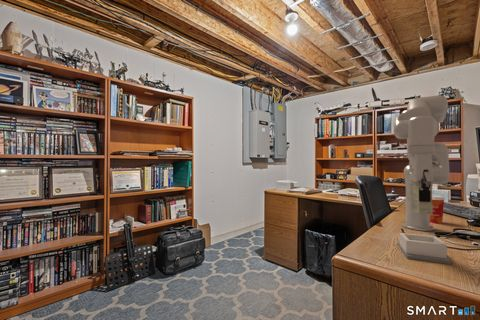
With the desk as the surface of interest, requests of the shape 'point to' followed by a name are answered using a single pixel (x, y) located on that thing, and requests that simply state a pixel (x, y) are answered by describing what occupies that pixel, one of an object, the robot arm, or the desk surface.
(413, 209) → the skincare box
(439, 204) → the paper cup
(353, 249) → the desk surface
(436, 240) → the shallow white tray
